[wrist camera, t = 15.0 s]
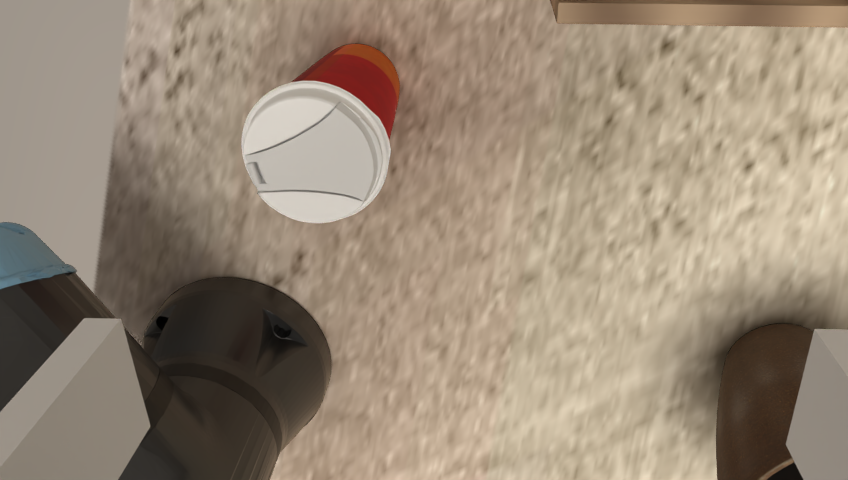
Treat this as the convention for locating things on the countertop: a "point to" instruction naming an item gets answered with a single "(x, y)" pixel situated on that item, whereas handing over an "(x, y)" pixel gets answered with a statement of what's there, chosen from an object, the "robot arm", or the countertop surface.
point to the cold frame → (704, 12)
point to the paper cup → (324, 136)
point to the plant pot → (760, 403)
